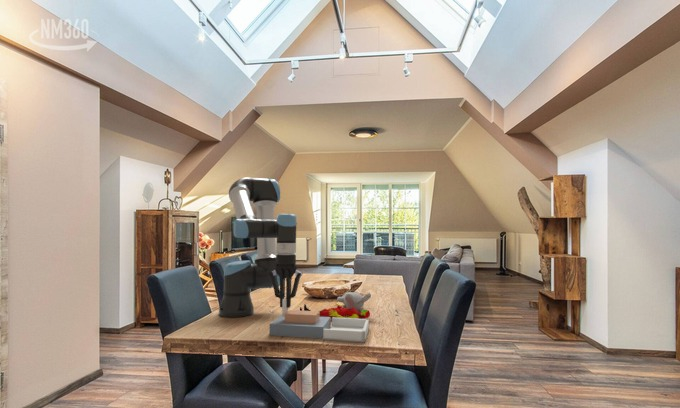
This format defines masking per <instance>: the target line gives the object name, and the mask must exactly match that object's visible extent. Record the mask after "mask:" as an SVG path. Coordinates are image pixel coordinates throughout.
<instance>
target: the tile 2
mask: <svg viewBox="0 0 680 408" xmlns="http://www.w3.org/2000/svg"><path fill="white" fill-rule="evenodd" d="M303 311H304V310H303ZM320 311H321V310H311V311H304V312H303V313H301V314H300V323H315V324H316V323H317V322H318V321H319V319H320Z"/></svg>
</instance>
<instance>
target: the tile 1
mask: <svg viewBox="0 0 680 408" xmlns="http://www.w3.org/2000/svg"><path fill="white" fill-rule="evenodd" d="M303 312H304V310H303V311H300V309H299V310H295V309H288V312H286V313H285V322H296V323H300V314H301V313H303Z"/></svg>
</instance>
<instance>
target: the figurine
mask: <svg viewBox="0 0 680 408" xmlns="http://www.w3.org/2000/svg"><path fill="white" fill-rule="evenodd" d="M299 311H312V310H311V309H309V308H308V307H307V305H306V303H304V305H303V308H302V307H301V306H300V307H299ZM319 311H320V317H331V318H332V317H335V318H355V319H369V317H370V316H371V312H370V310H368V309H363V310H362V311H361V312H362V313H360V312H358V311H357V310H356V309H355V308H351V309H347V308H346V307H343V306H341V305H340V304H339V303H337V304H336V303H335V305H334V307H331V308H328V309H327V308H324V309H322V310H319Z"/></svg>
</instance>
